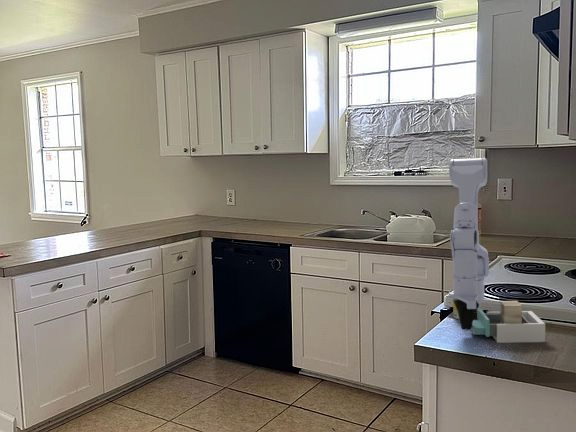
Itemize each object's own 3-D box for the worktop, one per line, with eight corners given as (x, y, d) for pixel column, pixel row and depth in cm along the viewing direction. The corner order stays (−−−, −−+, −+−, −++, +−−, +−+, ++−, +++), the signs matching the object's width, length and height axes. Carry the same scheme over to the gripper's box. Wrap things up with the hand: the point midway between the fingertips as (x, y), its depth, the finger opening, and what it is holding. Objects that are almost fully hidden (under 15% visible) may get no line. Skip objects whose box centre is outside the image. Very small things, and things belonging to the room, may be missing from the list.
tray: (467, 324, 140) (467, 308, 140) (519, 323, 139) (519, 307, 138) (475, 336, 131) (475, 320, 131) (531, 336, 130) (531, 319, 129)
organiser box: (487, 328, 140) (486, 311, 140) (531, 327, 139) (531, 311, 138) (497, 342, 130) (497, 324, 130) (545, 342, 129) (545, 323, 128)
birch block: (500, 324, 137) (500, 301, 136) (517, 323, 136) (516, 300, 135) (504, 329, 133) (504, 305, 132) (521, 329, 132) (521, 305, 131)
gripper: (443, 269, 142) (444, 319, 143) (454, 283, 127) (455, 338, 129) (471, 268, 141) (472, 318, 142) (485, 282, 126) (485, 338, 128)
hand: (466, 328), depth 136 cm, fingers closed, pressing on tray
